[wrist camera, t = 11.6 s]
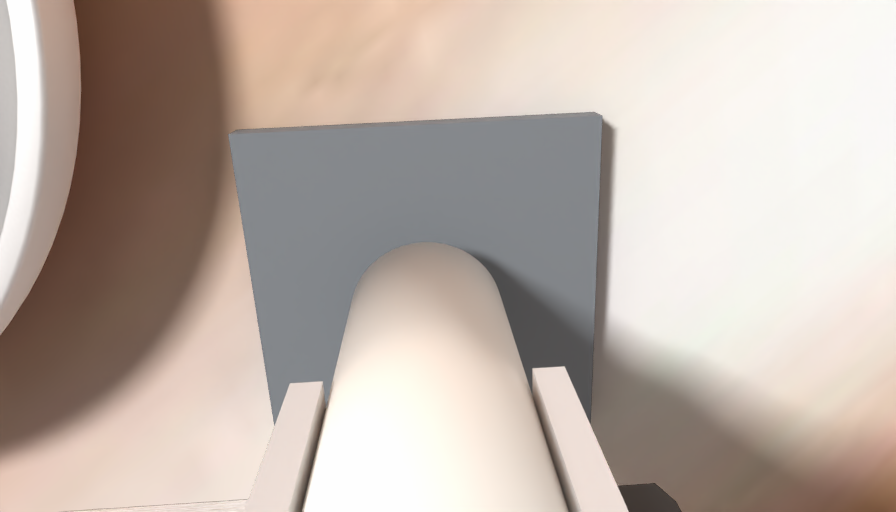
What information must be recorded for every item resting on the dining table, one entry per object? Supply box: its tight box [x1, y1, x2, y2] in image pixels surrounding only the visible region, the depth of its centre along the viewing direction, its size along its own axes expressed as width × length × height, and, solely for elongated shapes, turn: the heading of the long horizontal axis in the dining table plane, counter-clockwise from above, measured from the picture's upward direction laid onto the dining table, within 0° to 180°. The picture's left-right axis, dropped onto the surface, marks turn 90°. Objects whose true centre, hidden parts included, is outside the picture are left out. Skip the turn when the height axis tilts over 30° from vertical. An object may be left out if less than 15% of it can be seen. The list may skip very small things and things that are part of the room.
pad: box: [228, 112, 602, 426], centre depth 23 cm, size 12×12×1 cm
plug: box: [301, 242, 569, 512], centre depth 14 cm, size 5×5×15 cm
